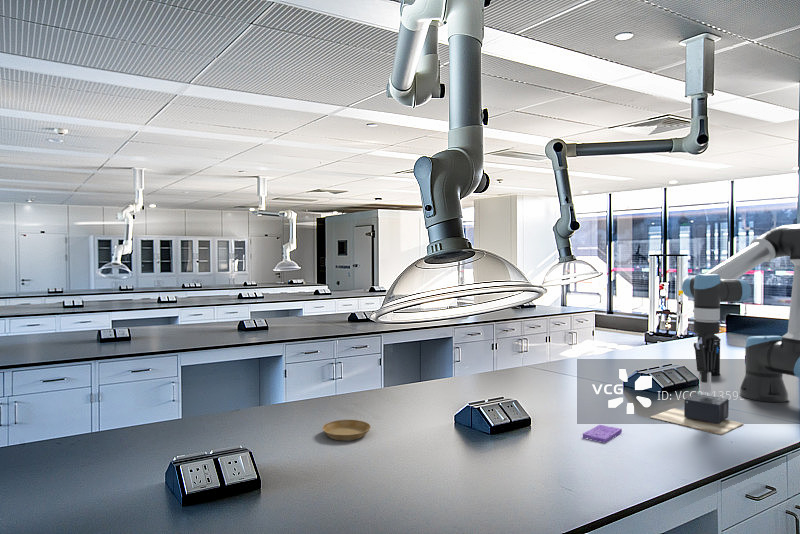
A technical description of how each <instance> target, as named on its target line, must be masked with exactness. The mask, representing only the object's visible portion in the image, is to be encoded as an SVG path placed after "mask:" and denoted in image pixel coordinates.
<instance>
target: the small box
mask: <svg viewBox="0 0 800 534" xmlns="http://www.w3.org/2000/svg"><path fill="white" fill-rule="evenodd" d="M729 401H730V400H729V398H723V397H718V396H713V395H712V396H711V395H704V394H701V393H693V394H692V395H691V396H688V397H687V398H685V399H684V401H683V402H684V403H683V404H684V409H683V410H684V417H686V418H691V419H696V420H702V421H707V422H712V423H717V424H719V423H721V422H722V421H723V420H725V419H726V420H727V419H728V418H729V410H730V409H729V406H730V403H729Z"/></svg>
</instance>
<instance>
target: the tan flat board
mask: <svg viewBox="0 0 800 534" xmlns="http://www.w3.org/2000/svg"><path fill="white" fill-rule="evenodd" d="M649 418H650V419H653V420H657V421H661V420H662V421H661V422H665V421H667V422H666V423H669V422H671V424H673V423H676V424H675V425H677V424H680V425H679V426H682V425H684V426H683V427H686V426H689V427H688V428H690V427H693V428H692V429H694V428H696V429H695V430H698V429H699V431H701V432H702V431H703V432H707V433H711V434H715V435H719V436H722V435H724V434H726V433H729V432H731V431H733V430H736V429H737V428H739V427H741V426H743V425H744V423H743V422H739V421H734V420H729V419H727V418H726V419H725V420H723V421H722V422H721V423H719V424H717V423H712V422H707V421H702V420H696V419H691V418H686V417H684V409H679V408H677V407H674V408H670V409H667V410H665V411H663V412H660V413H657V414H654V415H650V417H649Z"/></svg>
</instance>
